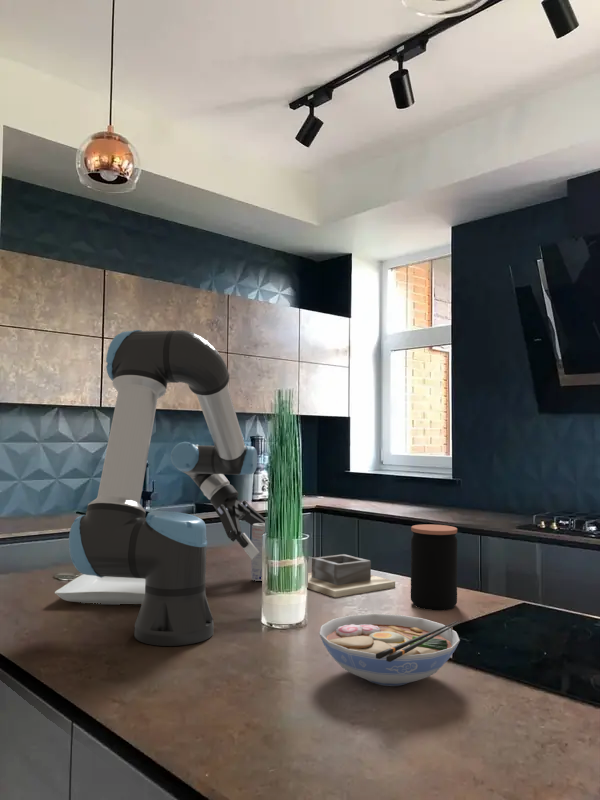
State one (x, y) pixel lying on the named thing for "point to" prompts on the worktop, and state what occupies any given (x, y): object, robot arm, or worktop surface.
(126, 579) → the square plate
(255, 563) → the beverage can
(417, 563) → the coffee jar
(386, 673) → the ramen bowl
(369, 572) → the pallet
